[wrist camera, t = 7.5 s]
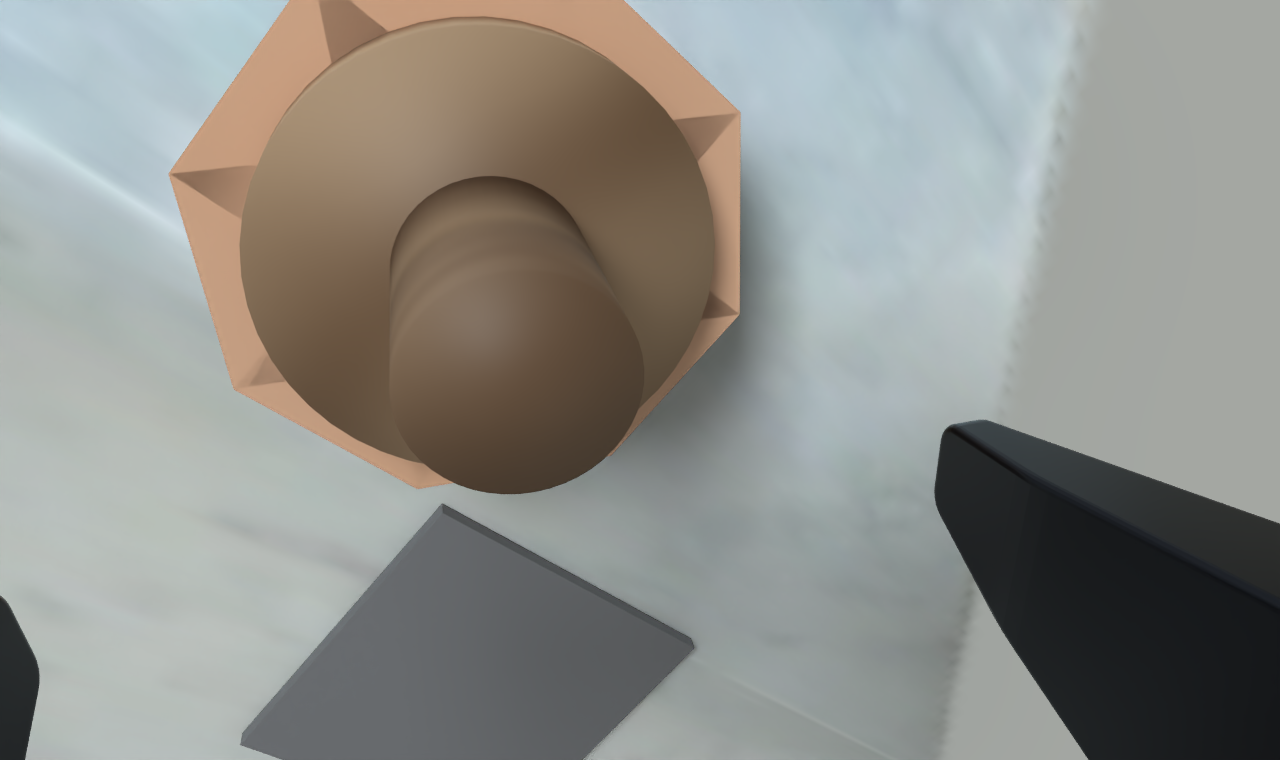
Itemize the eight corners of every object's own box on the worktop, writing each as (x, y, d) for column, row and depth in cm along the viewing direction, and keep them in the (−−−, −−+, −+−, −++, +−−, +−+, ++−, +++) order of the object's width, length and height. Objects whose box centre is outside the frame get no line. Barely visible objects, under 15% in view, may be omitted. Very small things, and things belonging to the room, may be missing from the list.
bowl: (757, 146, 21) (838, 206, 17) (503, 437, 23) (526, 548, 19) (416, -176, 17) (423, -192, 13) (141, 218, 19) (76, 304, 15)
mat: (690, 638, 28) (694, 647, 27) (503, 826, 30) (504, 837, 29) (442, 503, 23) (442, 513, 23) (242, 733, 25) (240, 744, 25)
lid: (780, 213, 17) (913, 327, 13) (521, 503, 19) (560, 691, 14) (437, -100, 13) (458, -89, 9) (153, 294, 15) (58, 461, 11)
